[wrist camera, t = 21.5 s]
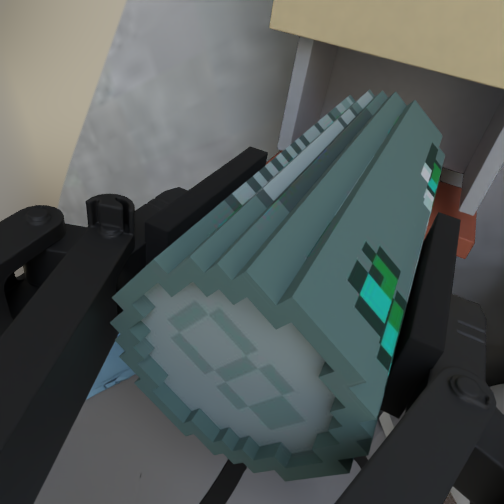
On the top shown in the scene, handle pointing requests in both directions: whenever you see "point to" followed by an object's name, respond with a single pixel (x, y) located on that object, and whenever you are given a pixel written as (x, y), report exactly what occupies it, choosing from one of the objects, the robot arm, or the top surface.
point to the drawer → (409, 89)
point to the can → (291, 295)
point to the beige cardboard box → (407, 32)
